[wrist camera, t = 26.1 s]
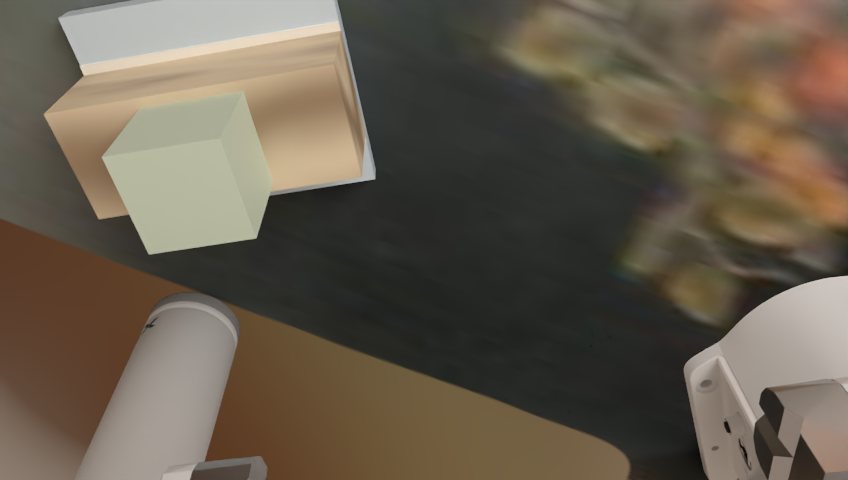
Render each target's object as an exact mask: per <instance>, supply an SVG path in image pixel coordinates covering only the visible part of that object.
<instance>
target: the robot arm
mask: <svg viewBox="0 0 848 480" xmlns="http://www.w3.org/2000/svg"><path fill="white" fill-rule="evenodd" d="M684 375H685V380H686V385H687V390H688V395H689V400H690V405H691V410H692V415H693V420H694V425H695V430H696V435H697V440H698V445H699V450H700V455H701V460H702V465H703V469H704V472H705V474H706V476H707V477H708V479H709V480H848V276H841V277H832V278H826V279H821V280H816V281H812V282H809V283H806V284H802V285H799V286H797V287H794V288H792V289H789V290H787V291H785V292H782V293H780V294H778V295H776V296H774V297H773V298H771V299H769V300H767V301H766V302H764V303H762V304H761V305H759V306H758V307H757V308H755V309H754V310H752V311H751V312H750V313H749V314H747V315H746V316H745V317H744V318H743V319H742V320H741V321H740V322H738V324H737V325H736V326H735V327H734V328H733V329H732V330H731V331H730V332H729V333H728V334H727V335H726V336H725V337H724V338H723V339H722V340H720V341H719V342H718V343H716V344H714V345H713V346H711V347H709V348H707V349H705V350H704V351H702V352H700V353H699V354H697V355H695V356H694V357H693V358H691V359H690V360H689V361H688V362H687V363H686V364H685V366H684ZM266 474H267V466H266V465H265V463H264V461H263V459H262V457H261V456H258V457H257V456H256V457H247V458H237V459H228V460H219V461H209V462H199V463H191V464H183V465H175V466H169V467H168V469H167V470H166V471H165V473H164V474H163V475H162V477H161V480H266Z"/></svg>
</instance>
